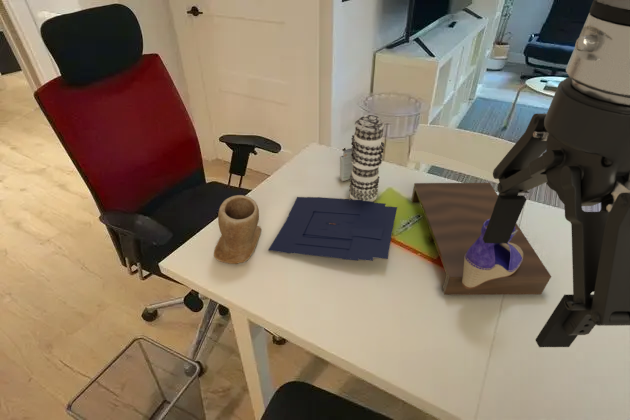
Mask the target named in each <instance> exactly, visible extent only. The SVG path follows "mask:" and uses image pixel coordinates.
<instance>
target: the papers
mask: <svg viewBox="0 0 630 420" xmlns="http://www.w3.org/2000/svg"><path fill="white" fill-rule="evenodd" d="M386 205H387V204H386V203H382V202H375V201H373V202H372V201H363V200H352V199H351V198H335V197H320V196H318V197H316V196H315V197H314V196H306V197H305V196H297V197H296V199H295V201H294V203H293V205H292V207H291V209H290V211H289V214H288V216H287V218H286V219H285V221H284V224H283V225H282V227H281V228H280V230H279V232H278V233H277V235H276V237H275V238H274V240H273V242H272V243H271V244H270V246H269V248H268V251H273V252H278V253H283V254H296V255H297V254H298V255H305V256H315V257H324V258H332V259H339V260H340V259H341V260H347V261H356V262H357V261H359V260H360V261H369V262H371V261H372V262H373V261H374V258H375V259H384V260H388V259H389V254H390V249H391V242H392V236H393V230H394V225H395V221H396V215H397V210H398V206H388V205H387V206H386Z"/></svg>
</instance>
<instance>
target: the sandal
mask: <svg viewBox="0 0 630 420" xmlns="http://www.w3.org/2000/svg"><path fill="white" fill-rule="evenodd" d="M489 221H490V219H488V220H486V221H485V222H484V224H483V226H482V229H481V233H482V234H481V236H480V237H479V238H478V239H477V240H476V242H475V243H474V244H473V245H472V246H471V247H470V248H469V249H468V251H467V253H466V254H465V257H464V270H463V279H462V285H463V287H465V288H466V289H473V288H475V287H478V286H480V284H482V283H484V282H487V281H490V280H494V279H497V278H503V277H507V276H510V275H512V274H513V273H514V272H515V271H516V270H517V269H518V267H519V266H520V264H521V263H522V260H523V251H522V250H521V248H520V247H519V246H517V245H516V244H514V243H510V240H511V239H512V237H513V236H514V235H515V233H516V232H517V231H518V230H516V231H515V227H514V229H513V232H512V234H511V236H510V239H509V241H508V243H484V241H483V237H484V234H485V231H486V229H487V228H485V227H486V226H488V223H489Z"/></svg>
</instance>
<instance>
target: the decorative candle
mask: <svg viewBox="0 0 630 420" xmlns="http://www.w3.org/2000/svg"><path fill="white" fill-rule="evenodd" d="M354 125H355V127H354V128H355V129H354V134H352V135H351V143H350V144H351V148H352V149H351V151H352V154H351V156H352V160H351V161H352V164H353V168H352V173H351V176H350V178H351V179H349V182H350V183H349V190H348V192H349V195H348V196H349V199H352V200H363V201H372V202H375V200H376V199H377V197H378V191H379V183H380V176H379V173H380V166H381V165H382V162H383V153H384V151H385V149H384V148H385V143H384V142H383V141H384V128H385V127H386V123H385V122H384V121H383V120H382V118H380V116H377V115H373V114H365V115H362V116H361V117H359V118H358V119H357V120H356V121H355V122H354Z"/></svg>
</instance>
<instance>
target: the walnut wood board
mask: <svg viewBox="0 0 630 420" xmlns="http://www.w3.org/2000/svg"><path fill="white" fill-rule="evenodd" d="M412 188H413V189H412V194H411V202H412V204H413V203H416V204H417V203H419V204H420V207H421V210H422V212H423V216H424V217H425V220H426V223H427V226H428V228H429V233H428V242H429V243H434V244H435V248H436V250H437V252H438V255H439V258H440V260H441V261H440V262H441V264H442V266H443V269H444V271H445V274H446V276H445V279H444V282H443V285H442V288H441V290H442V293H443V295H444V296H470V295H472V296H476V295H477V296H480V295H481V296H482V295H483V296H484V295H485V296H486V295H491V296H493V295H542V294H543V292H544V290H545V289H546V287H547V285H548V283H549V282H550V280H551V278H552V275H551V274H550V272H549V271H548V269H547V267H546V266H545V265H544V263H543V262H542V260H541V258H540V257H539V255H538V254H537V252H536V251H535V249H534V248H533V246H532V245H531V243H530V241H529V240H528V238H527V237H526V235H525V234H524V232H523V231H522V229H521V228H520V226H519V225H518V224H517V223H516V225H515V231H516V230H518V231H517V232H516V233H515V235H514V236H513V237H512V239H511V240H510V243H514V244H516V245H517V246H519V247H520V248H521V250H522V251H523V260H522V263H521V264H520V266H519V267H518V269H517V270H516V271H515V272H514V273H513V274H512V275H510V276H507V277H503V278H497V279H494V280H490V281H487V282H484V283H482V284H480V286H478V287H475V288H473V289H466V288H465V287H463V285H462V279H463V270H464V257H465V254H466V253H467V251H468V249H469V248H470V247H471V246H472V245H473V244H474V243H475V242H476V240H477V239H478V238H479V237H480V236H481V234H482V233H481V229H482V226H483V224H484V222H485V221H486V220H488V219H490V218H491V215H492V213H493V209H494V205H495V203H496V200H497V197H498V195H499V194H498V193H497V191H496V190H495V189H494V187H493V186H492V184H491V182H415V183H414V184H413V187H412ZM485 228H487V226H486V227H485Z"/></svg>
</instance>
